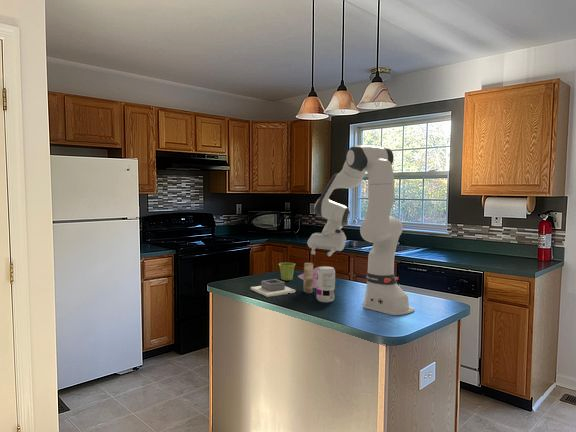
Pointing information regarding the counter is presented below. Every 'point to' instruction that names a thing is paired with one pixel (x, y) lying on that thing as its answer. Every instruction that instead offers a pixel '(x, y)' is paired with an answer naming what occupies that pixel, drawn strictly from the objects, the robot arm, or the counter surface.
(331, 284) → the supplement can
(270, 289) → the docking plate
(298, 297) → the counter surface
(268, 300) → the counter surface
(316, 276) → the lily
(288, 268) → the plant pot
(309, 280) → the beech peg
